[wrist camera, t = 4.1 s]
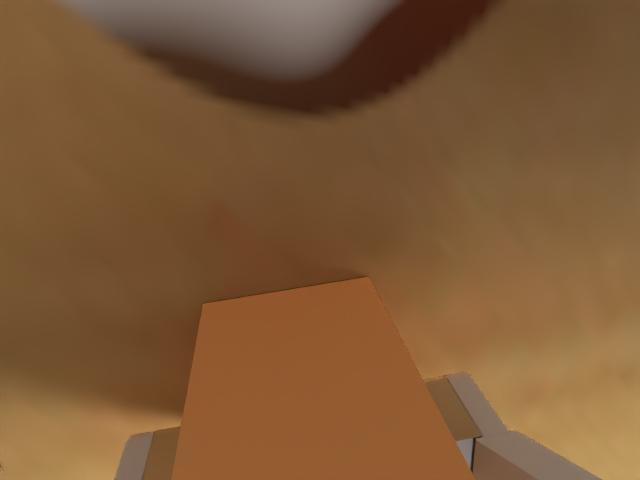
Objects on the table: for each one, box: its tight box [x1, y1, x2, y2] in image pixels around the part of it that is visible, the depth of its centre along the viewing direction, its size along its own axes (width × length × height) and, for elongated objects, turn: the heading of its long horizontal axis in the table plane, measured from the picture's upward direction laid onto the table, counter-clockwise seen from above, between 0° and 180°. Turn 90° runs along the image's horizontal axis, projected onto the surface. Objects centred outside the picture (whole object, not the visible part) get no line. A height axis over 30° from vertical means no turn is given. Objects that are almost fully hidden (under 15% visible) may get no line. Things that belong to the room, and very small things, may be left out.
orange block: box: [171, 277, 476, 480], centre depth 8 cm, size 4×4×6 cm
